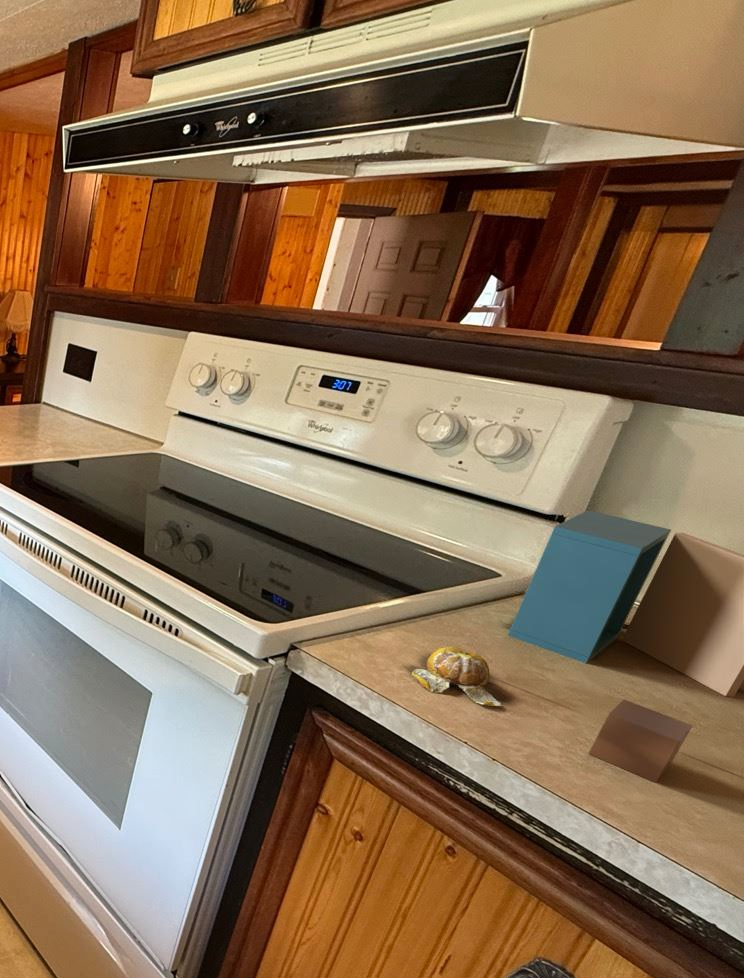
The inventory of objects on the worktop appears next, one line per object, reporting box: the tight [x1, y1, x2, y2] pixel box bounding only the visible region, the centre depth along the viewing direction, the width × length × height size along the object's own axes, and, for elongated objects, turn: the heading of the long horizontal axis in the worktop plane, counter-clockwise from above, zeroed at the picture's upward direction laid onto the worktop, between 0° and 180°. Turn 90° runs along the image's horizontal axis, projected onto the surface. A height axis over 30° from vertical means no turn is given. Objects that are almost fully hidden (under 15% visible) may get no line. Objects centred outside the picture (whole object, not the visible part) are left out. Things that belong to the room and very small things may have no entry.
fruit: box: [411, 646, 503, 707], centre depth 86 cm, size 8×8×4 cm
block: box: [588, 699, 693, 784], centre depth 73 cm, size 5×5×5 cm
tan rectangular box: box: [621, 532, 744, 698], centre depth 88 cm, size 8×13×16 cm, turn 177°
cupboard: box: [507, 509, 672, 664], centre depth 95 cm, size 8×13×16 cm, turn 122°
